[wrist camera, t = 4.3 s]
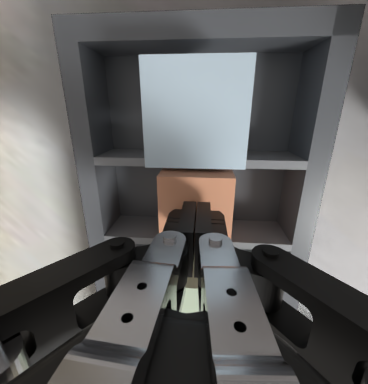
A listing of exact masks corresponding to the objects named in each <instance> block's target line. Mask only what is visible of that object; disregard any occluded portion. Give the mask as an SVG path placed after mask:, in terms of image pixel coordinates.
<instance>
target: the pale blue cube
mask: <svg viewBox="0 0 368 384" xmlns="http://www.w3.org/2000/svg"><path fill="white" fill-rule="evenodd" d="M256 55H257V52H248V53H193V54H139V71H140V88H141V106H142V123H143V140H144V157H145V168H189V169H235V170H245V169H246V159H247V148H248V138H249V128H250V117H251V107H252V96H253V86H254V75H255V65H256Z"/></svg>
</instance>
